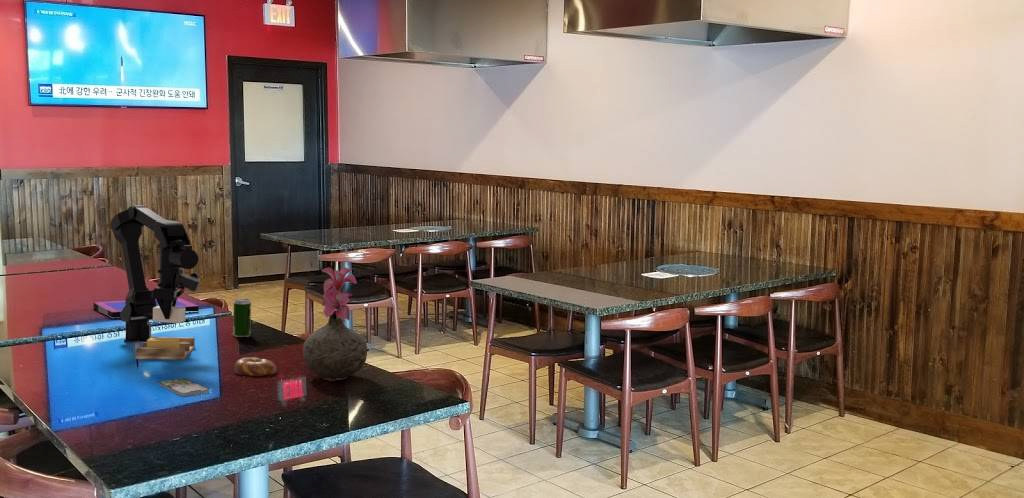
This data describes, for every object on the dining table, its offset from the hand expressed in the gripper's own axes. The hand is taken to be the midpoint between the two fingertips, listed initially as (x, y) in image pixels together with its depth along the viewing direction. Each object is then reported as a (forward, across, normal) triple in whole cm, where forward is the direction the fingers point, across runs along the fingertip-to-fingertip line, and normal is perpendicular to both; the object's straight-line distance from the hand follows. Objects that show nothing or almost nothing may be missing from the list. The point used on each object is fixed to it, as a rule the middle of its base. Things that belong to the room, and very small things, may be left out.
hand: (169, 317), depth 259 cm
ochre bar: (+9, -7, 0) cm, 12 cm away
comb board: (+10, -4, 0) cm, 10 cm away
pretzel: (+10, -25, -28) cm, 39 cm away
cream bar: (+1, 0, 0) cm, 1 cm away
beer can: (+10, +21, -18) cm, 30 cm away
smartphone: (+10, -42, -12) cm, 45 cm away
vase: (+10, -31, -49) cm, 59 cm away
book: (+11, +63, +21) cm, 68 cm away
